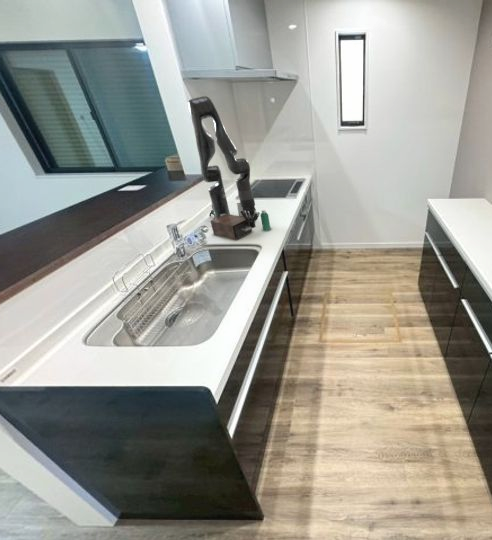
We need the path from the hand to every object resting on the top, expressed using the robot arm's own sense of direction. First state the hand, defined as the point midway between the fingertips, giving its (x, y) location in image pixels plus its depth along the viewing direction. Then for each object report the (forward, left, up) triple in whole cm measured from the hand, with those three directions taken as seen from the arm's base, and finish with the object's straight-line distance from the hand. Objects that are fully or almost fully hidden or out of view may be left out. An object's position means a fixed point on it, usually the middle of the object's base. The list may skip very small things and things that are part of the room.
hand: (253, 227), depth 169 cm
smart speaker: (-17, +13, -5) cm, 22 cm away
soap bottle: (+2, +9, -4) cm, 10 cm away
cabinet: (-13, -4, -4) cm, 14 cm away
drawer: (-9, -4, -3) cm, 11 cm away
